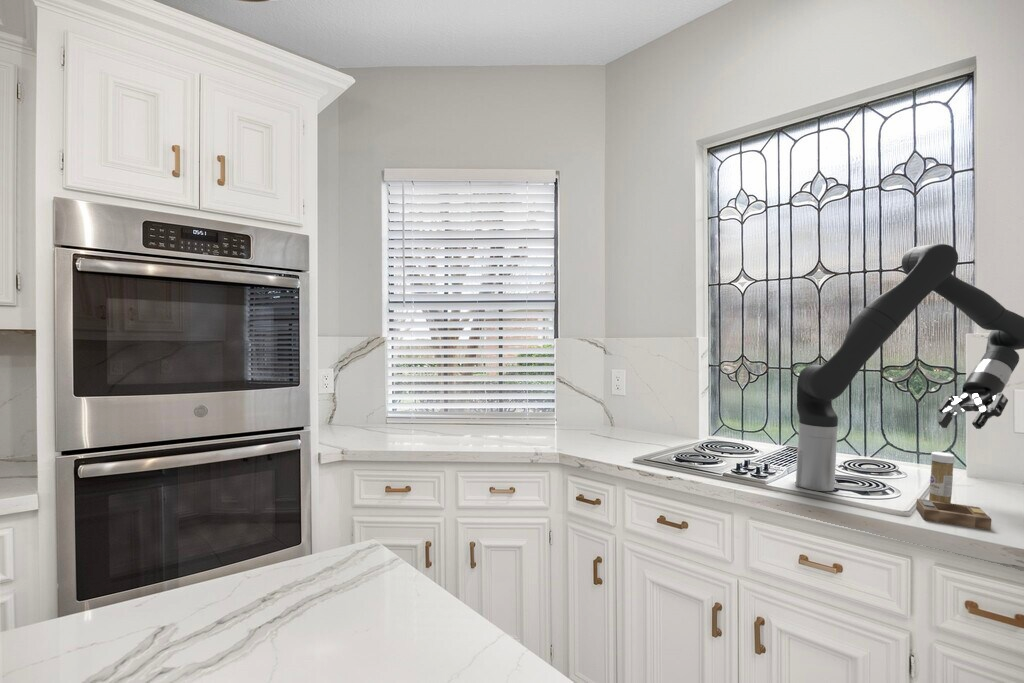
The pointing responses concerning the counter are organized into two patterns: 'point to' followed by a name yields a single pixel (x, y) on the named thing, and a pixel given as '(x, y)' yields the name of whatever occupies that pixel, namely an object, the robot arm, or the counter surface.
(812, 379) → the robot arm
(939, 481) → the sprinkles bottle
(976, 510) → the brass tag
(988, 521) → the socket block
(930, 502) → the slate tag
